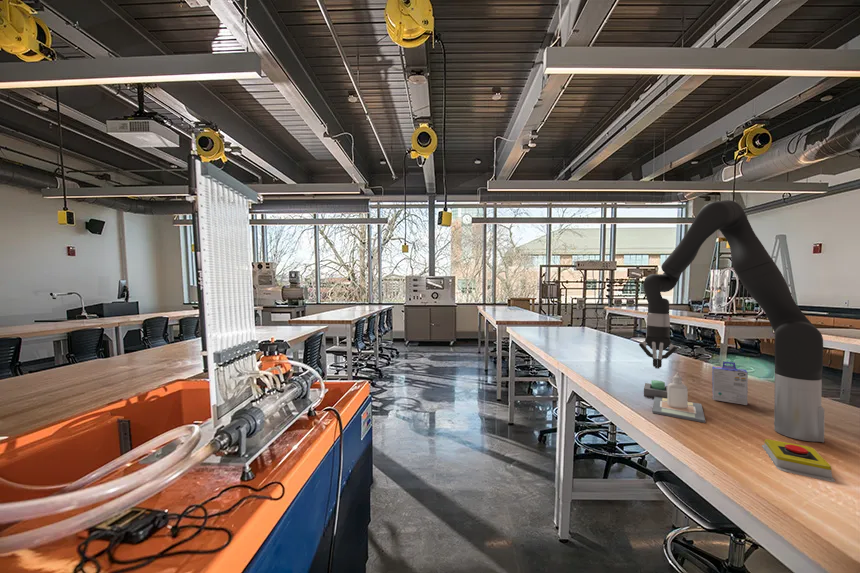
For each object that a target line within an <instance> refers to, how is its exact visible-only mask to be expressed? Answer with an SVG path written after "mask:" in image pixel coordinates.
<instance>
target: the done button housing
mask: <svg viewBox="0 0 860 573" xmlns="http://www.w3.org/2000/svg"><path fill="white" fill-rule="evenodd" d="M667 387H668V385H665V390H659V389H652V388H651V383H648V382H645V383H644V386H643V397H647V398H648V397H649V398H653V399H654V396H656V397H663V398H667Z"/></svg>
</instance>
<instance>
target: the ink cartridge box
mask: <svg viewBox="0 0 860 573" xmlns="http://www.w3.org/2000/svg"><path fill="white" fill-rule="evenodd" d="M728 364H729V365H728ZM711 368H712V369H711V372H712V376H711V377H712V380H711V381H712V384H711V385H712V390H711V391H712V395H711V396H712V400H713V401H717V402H718V401H720V402H725V403H729V404H737V405H738V404H739V405H744V406H748V392H749V391H748V375H749V374H748V373H749V372H748V371H747V370H746V369H742V368H737V366H736V362H733V361H732V362H731V361H722V366H711Z"/></svg>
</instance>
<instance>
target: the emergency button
mask: <svg viewBox="0 0 860 573" xmlns="http://www.w3.org/2000/svg"><path fill="white" fill-rule="evenodd" d="M761 448H762V449H763V451H766V452H765V453H766V454H768V455H767V456H768V458H769V459H770V458H771V459H770V460H771V462H772V461H773V462H772V464H774V466H775V468H776V469H777V470H779V471H782V472H786V473H790V474H794V475H797V476H798V475H799V476H802V477H803V476H804V477H808V478H812V479H817V480H821V481H827V482H830V483H835V482H836V480H835V478H834V477H833V474H832V473H833V472H832V466H831V464H830V463H829V462H827V461H826V459H825V458H823V457H822V455H821V454H820V453H819V452H818V451H817V450H816V449H815V448H813V447H812V446H809V445H808V446H807V445H801V444H796V443H791V442H786V441H780V440H776V439H775V440H774V439H770V438H766V439H764V444H762V445H761Z"/></svg>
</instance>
